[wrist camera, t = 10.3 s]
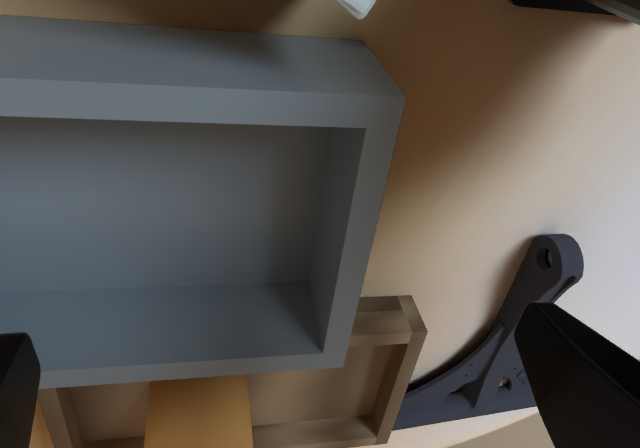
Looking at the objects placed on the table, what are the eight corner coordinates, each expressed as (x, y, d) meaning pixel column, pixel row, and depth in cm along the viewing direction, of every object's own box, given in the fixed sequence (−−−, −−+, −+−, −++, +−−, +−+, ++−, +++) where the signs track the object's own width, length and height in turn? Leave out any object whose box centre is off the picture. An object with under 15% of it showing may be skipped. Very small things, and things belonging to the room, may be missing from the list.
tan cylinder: (249, 351, 26) (259, 465, 21) (245, 409, 29) (254, 521, 24) (146, 357, 25) (132, 480, 20) (153, 417, 28) (142, 536, 23)
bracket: (659, 218, 28) (700, 250, 26) (553, 385, 37) (577, 420, 34) (418, 230, 24) (443, 269, 22) (363, 413, 33) (377, 454, 31)
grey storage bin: (363, 40, 18) (406, 97, 14) (321, 285, 25) (343, 367, 22) (-163, 3, 15) (-292, 63, 11) (-43, 297, 22) (-96, 398, 18)
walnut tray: (411, 295, 27) (427, 331, 25) (376, 407, 33) (387, 443, 31) (39, 311, 23) (24, 355, 21) (73, 434, 29) (64, 477, 27)
